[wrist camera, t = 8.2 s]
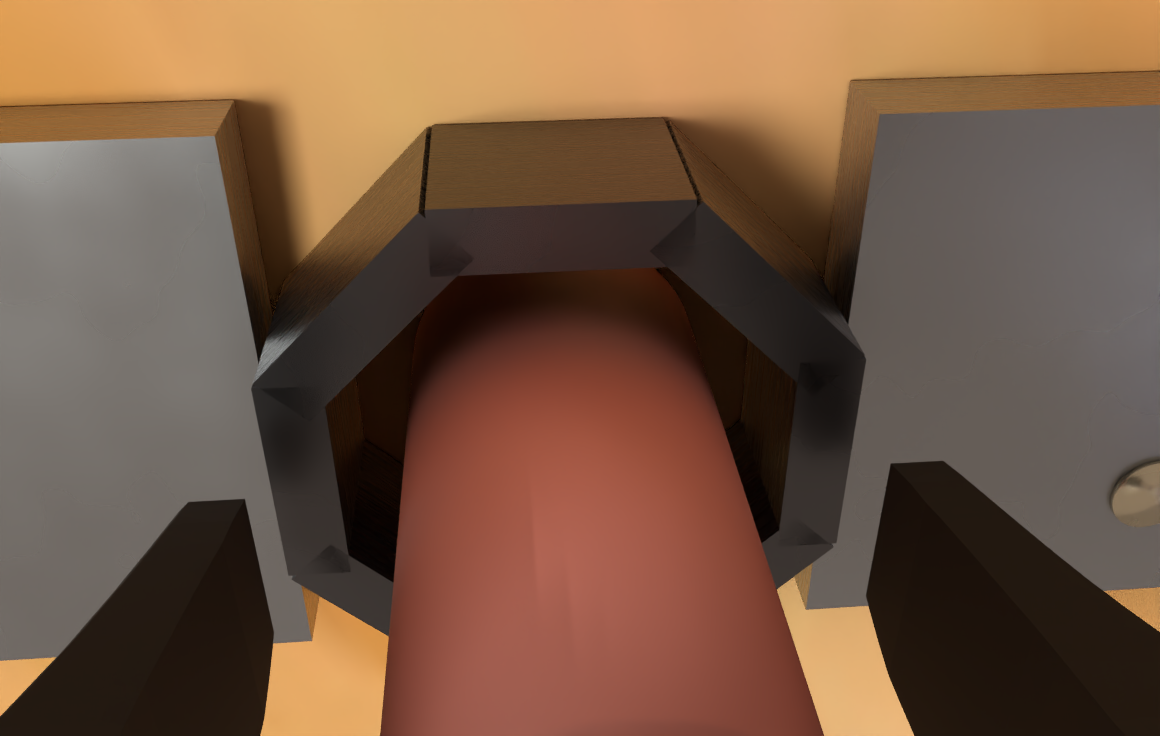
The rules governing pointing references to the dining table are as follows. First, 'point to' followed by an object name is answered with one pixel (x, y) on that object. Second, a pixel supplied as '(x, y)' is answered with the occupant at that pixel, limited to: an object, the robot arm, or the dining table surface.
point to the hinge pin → (577, 526)
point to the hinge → (577, 243)
